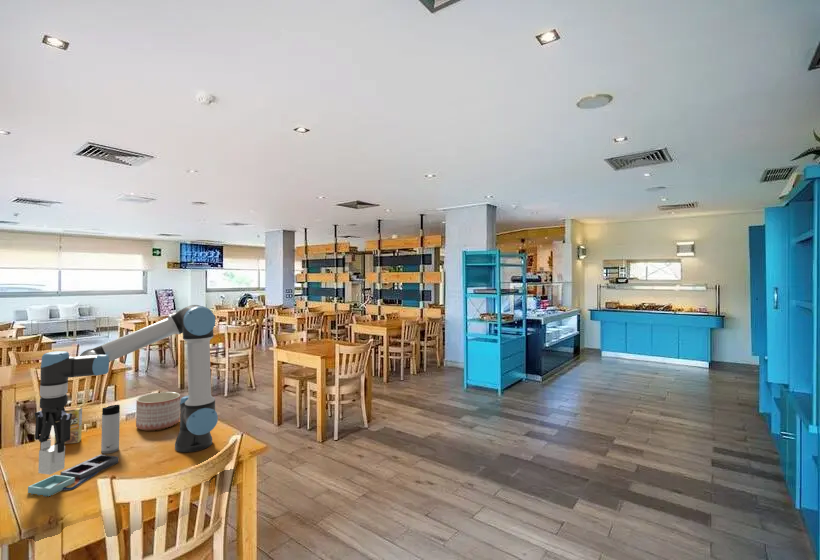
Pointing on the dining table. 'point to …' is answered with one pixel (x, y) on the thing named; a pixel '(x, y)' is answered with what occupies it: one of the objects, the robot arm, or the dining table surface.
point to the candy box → (75, 425)
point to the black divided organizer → (90, 466)
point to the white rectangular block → (49, 461)
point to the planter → (157, 411)
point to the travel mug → (110, 429)
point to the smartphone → (77, 481)
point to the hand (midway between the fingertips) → (51, 460)
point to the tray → (51, 485)
